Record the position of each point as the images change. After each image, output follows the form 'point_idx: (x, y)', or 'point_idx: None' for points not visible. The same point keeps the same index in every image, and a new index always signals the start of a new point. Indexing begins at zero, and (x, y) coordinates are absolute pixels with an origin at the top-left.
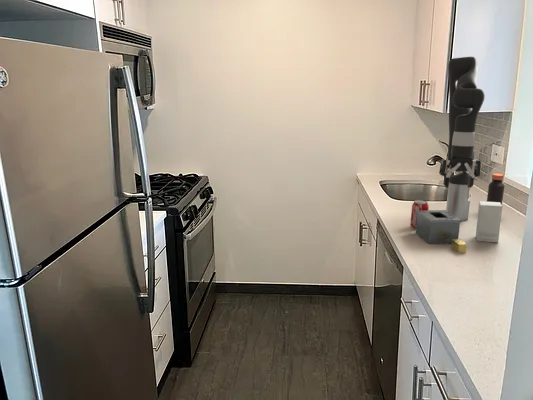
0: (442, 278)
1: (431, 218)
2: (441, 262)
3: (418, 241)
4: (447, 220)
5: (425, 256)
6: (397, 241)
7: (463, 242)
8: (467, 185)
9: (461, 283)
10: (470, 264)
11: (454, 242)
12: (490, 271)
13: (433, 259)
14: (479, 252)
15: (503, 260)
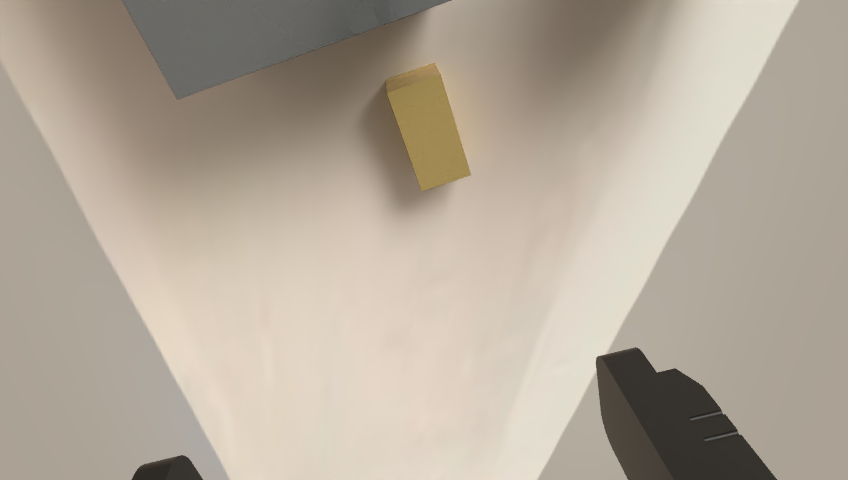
0: (323, 460)
1: (173, 29)
2: (321, 324)
3: None
4: (337, 39)
5: (239, 273)
6: (10, 56)
7: (456, 141)
8: (605, 363)
9: (388, 475)
10: (454, 309)
11: (400, 128)
12: (523, 357)
13: (282, 300)
14: (543, 128)
15: (632, 217)
